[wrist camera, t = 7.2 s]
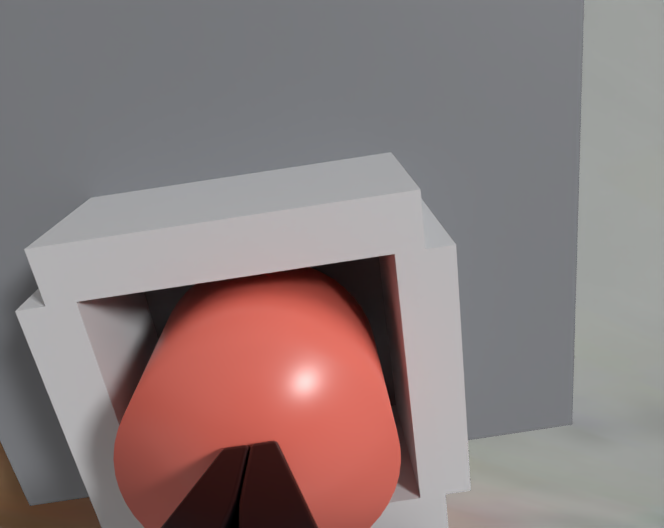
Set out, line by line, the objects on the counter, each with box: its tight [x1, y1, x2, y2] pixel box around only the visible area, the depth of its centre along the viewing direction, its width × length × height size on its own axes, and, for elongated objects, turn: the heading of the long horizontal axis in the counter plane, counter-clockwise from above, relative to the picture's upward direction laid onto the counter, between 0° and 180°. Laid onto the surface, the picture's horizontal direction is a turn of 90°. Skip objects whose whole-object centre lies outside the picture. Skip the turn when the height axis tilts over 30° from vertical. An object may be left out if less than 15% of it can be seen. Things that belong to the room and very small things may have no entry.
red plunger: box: [113, 267, 401, 528], centre depth 10 cm, size 4×4×3 cm
